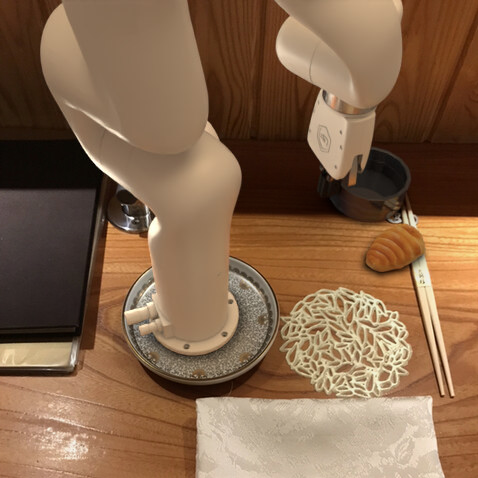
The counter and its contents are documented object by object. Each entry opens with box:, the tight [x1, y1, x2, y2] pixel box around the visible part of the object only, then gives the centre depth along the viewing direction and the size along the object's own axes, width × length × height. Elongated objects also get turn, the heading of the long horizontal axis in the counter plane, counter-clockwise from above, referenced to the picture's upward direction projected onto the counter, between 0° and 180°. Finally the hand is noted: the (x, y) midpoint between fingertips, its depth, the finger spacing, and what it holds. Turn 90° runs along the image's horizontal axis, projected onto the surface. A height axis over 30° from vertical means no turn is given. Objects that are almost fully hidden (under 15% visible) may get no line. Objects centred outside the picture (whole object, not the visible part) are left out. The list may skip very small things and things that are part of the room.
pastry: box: [365, 223, 427, 273], centre depth 86 cm, size 9×7×4 cm
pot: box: [329, 146, 412, 223], centre depth 92 cm, size 12×12×5 cm
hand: (327, 192), depth 90 cm, fingers closed
